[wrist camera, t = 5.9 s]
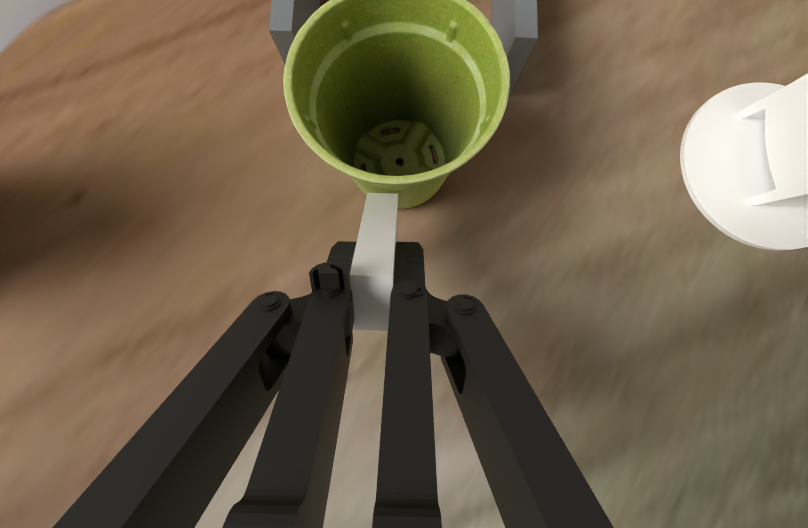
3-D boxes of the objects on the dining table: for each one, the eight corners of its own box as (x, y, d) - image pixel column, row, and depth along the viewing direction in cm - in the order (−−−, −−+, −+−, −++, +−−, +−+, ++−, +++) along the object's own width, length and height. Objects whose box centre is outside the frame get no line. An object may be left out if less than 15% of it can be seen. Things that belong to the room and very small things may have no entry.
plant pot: (309, 121, 24) (257, 11, 15) (443, 81, 24) (465, -48, 16) (351, 253, 23) (319, 213, 14) (491, 207, 23) (544, 142, 14)
